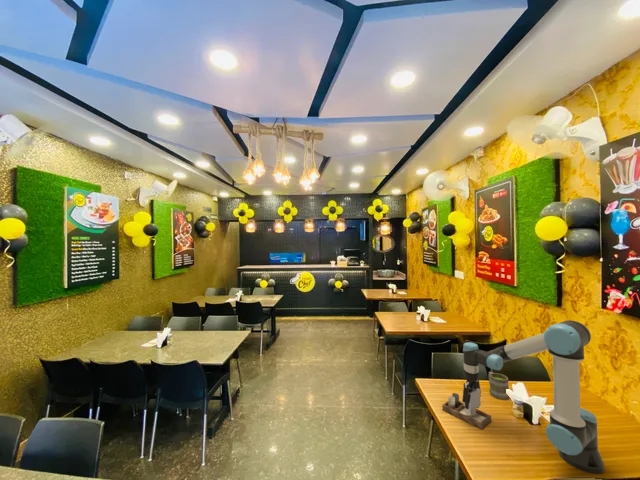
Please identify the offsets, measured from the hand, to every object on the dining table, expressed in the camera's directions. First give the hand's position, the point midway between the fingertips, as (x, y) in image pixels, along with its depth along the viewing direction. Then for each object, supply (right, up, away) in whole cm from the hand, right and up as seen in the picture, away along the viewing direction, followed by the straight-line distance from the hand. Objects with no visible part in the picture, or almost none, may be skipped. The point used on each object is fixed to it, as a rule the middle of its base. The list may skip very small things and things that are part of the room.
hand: (472, 410), depth 155 cm
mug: (+31, -5, +26) cm, 40 cm away
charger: (0, -3, 0) cm, 3 cm away
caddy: (-2, -4, +3) cm, 6 cm away
